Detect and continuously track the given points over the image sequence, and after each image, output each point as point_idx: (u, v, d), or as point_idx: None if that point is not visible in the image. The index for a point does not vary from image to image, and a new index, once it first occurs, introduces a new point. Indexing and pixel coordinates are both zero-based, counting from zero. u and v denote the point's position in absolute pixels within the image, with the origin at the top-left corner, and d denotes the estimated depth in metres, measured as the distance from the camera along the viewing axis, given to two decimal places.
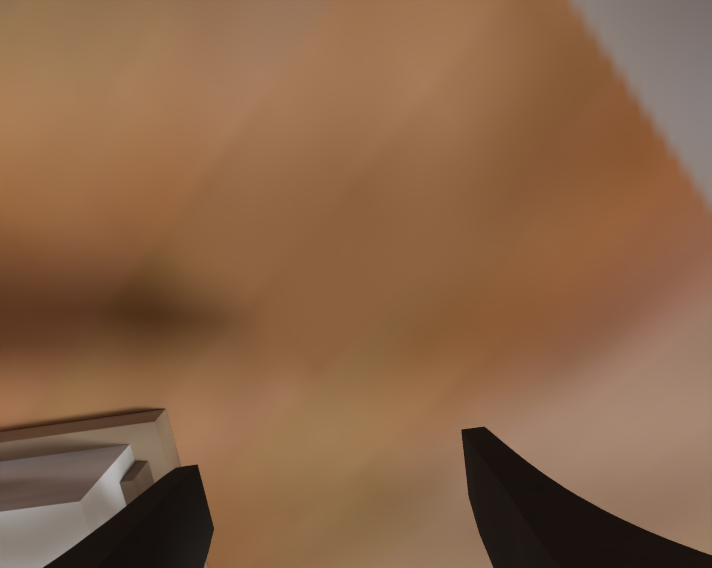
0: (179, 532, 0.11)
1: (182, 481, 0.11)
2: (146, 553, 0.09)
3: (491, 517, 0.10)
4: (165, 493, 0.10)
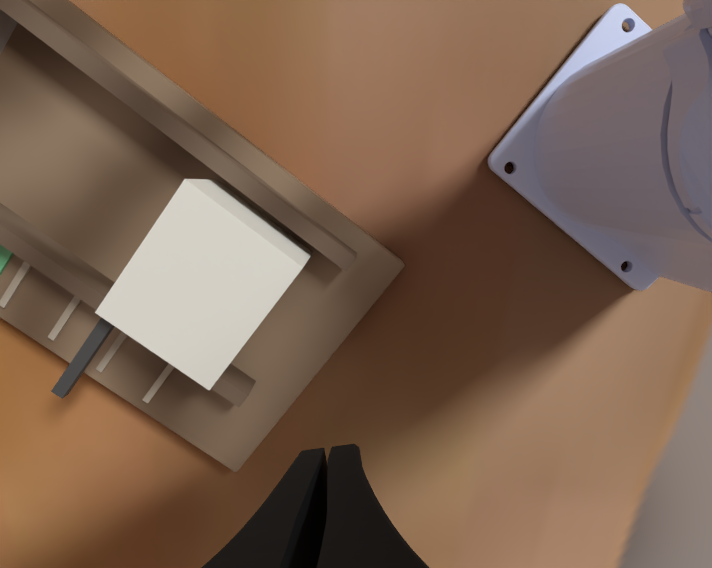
0: (322, 514, 0.10)
1: (319, 463, 0.11)
2: (308, 533, 0.09)
3: None
4: (312, 474, 0.10)
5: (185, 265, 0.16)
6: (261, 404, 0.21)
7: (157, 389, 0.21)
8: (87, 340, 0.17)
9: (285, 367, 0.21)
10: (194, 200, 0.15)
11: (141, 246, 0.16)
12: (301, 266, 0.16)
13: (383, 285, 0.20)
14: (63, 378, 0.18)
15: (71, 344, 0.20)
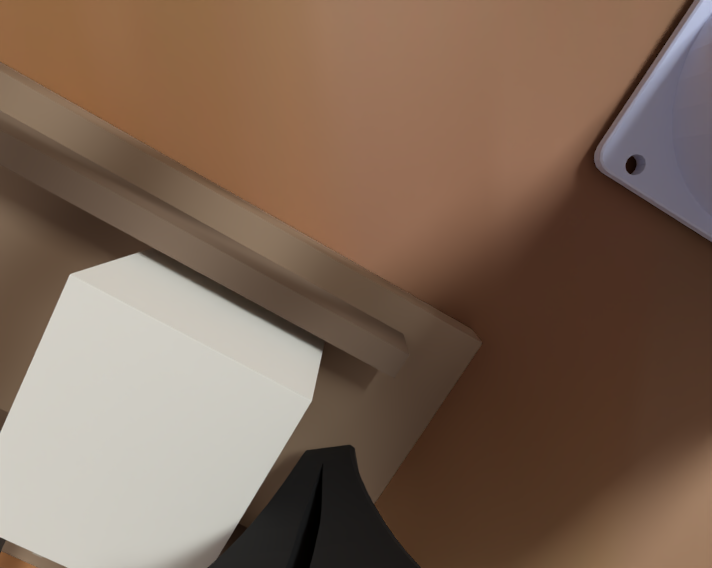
0: None
1: None
2: (313, 532, 0.09)
3: None
4: (316, 473, 0.10)
5: (100, 423, 0.09)
6: None
7: None
8: None
9: None
10: (93, 311, 0.08)
11: (19, 399, 0.09)
12: (308, 398, 0.09)
13: (451, 378, 0.12)
14: None
15: None
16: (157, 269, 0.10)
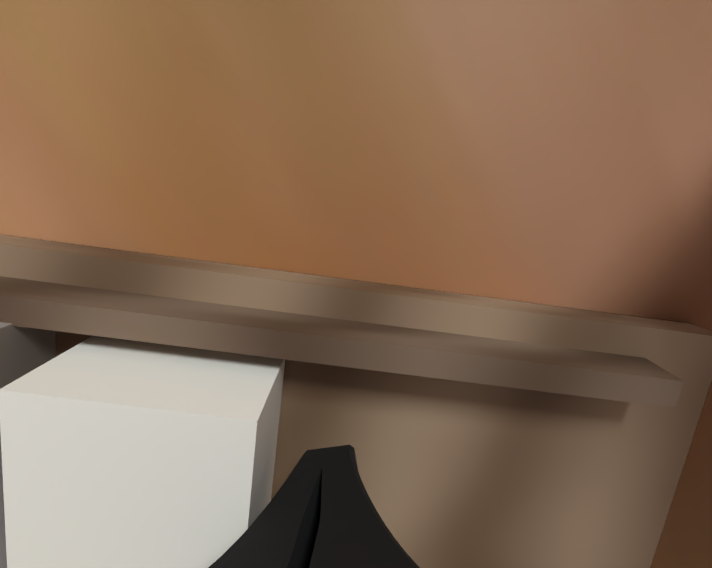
0: None
1: None
2: (314, 532, 0.09)
3: None
4: (317, 473, 0.10)
5: (84, 511, 0.09)
6: None
7: None
8: None
9: (611, 551, 0.14)
10: (32, 414, 0.09)
11: (10, 515, 0.09)
12: (254, 420, 0.09)
13: (705, 380, 0.12)
14: None
15: None
16: (98, 352, 0.11)
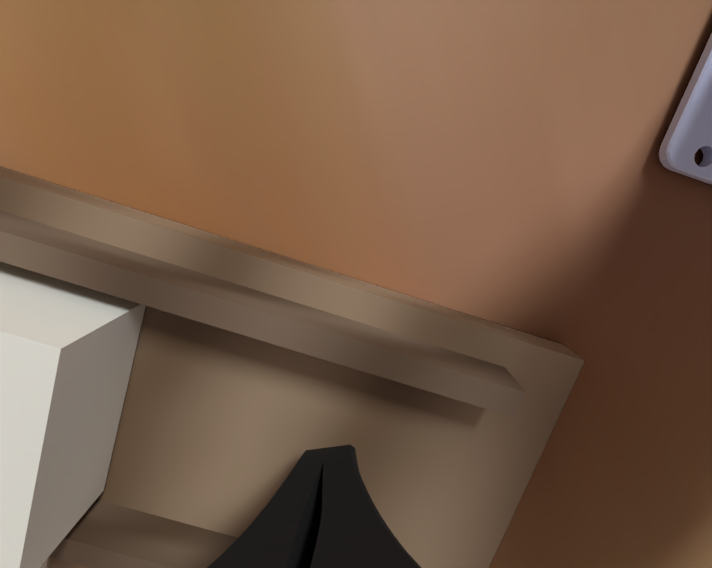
0: None
1: None
2: (313, 532, 0.09)
3: None
4: (316, 473, 0.10)
5: None
6: None
7: None
8: None
9: (448, 555, 0.14)
10: None
11: None
12: (59, 347, 0.08)
13: (560, 400, 0.12)
14: None
15: None
16: None
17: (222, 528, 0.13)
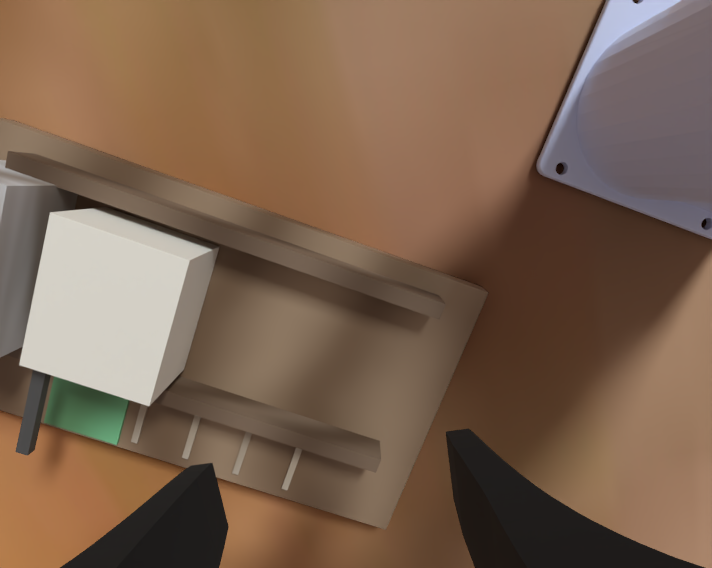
0: (196, 530, 0.10)
1: (198, 479, 0.11)
2: (165, 551, 0.09)
3: (472, 519, 0.10)
4: (182, 491, 0.10)
5: (81, 293, 0.16)
6: (391, 460, 0.22)
7: (292, 475, 0.22)
8: (29, 394, 0.18)
9: (403, 420, 0.21)
10: (65, 230, 0.16)
11: (37, 289, 0.16)
12: (188, 259, 0.16)
13: (473, 317, 0.20)
14: (21, 436, 0.18)
15: (204, 457, 0.22)
16: (104, 214, 0.18)
17: (258, 397, 0.21)
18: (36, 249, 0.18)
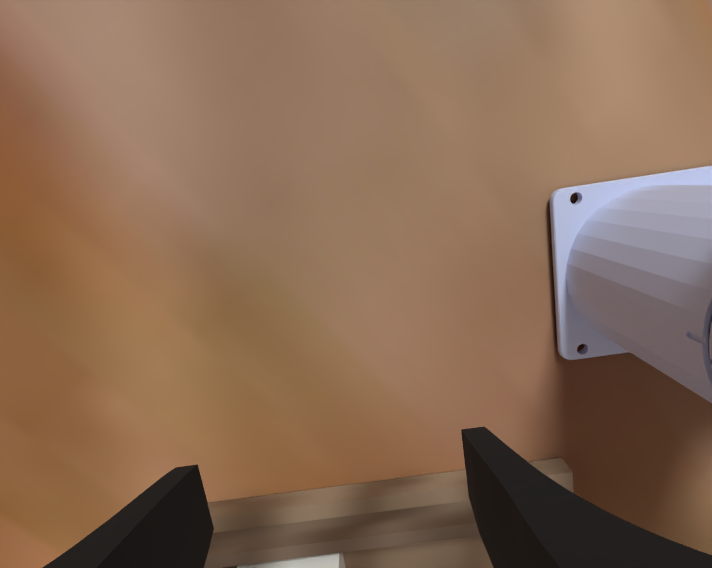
0: (179, 532, 0.11)
1: (182, 481, 0.11)
2: (146, 553, 0.09)
3: (491, 517, 0.10)
4: (165, 493, 0.10)
5: None
6: None
7: None
8: None
9: None
10: None
11: None
12: None
13: None
14: None
15: None
16: None
17: None
18: None
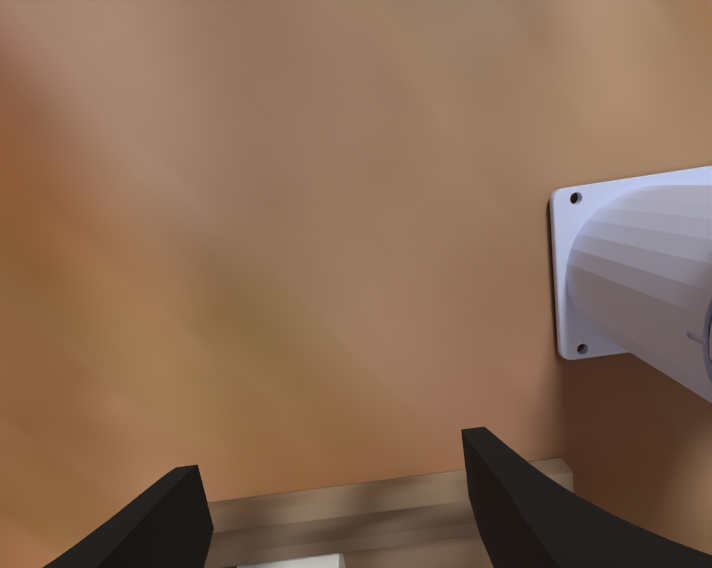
0: (179, 532, 0.11)
1: (182, 481, 0.11)
2: (146, 553, 0.09)
3: (491, 517, 0.10)
4: (165, 493, 0.10)
5: None
6: None
7: None
8: None
9: None
10: None
11: None
12: None
13: None
14: None
15: None
16: None
17: None
18: None
